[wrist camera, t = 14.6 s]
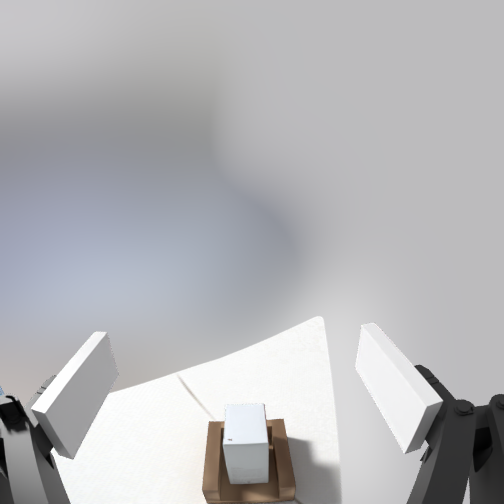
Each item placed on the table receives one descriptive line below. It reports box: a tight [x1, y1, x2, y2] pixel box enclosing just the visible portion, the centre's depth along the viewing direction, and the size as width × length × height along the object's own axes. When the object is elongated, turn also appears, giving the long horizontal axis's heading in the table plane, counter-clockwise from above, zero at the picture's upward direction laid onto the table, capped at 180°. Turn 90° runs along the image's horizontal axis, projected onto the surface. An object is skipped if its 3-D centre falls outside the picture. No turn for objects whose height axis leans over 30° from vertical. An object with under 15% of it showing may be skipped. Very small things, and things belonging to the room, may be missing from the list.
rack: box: [202, 419, 296, 504], centre depth 35 cm, size 12×14×4 cm
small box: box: [223, 404, 269, 484], centre depth 34 cm, size 8×6×10 cm
